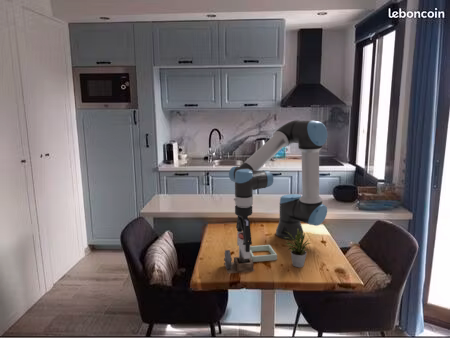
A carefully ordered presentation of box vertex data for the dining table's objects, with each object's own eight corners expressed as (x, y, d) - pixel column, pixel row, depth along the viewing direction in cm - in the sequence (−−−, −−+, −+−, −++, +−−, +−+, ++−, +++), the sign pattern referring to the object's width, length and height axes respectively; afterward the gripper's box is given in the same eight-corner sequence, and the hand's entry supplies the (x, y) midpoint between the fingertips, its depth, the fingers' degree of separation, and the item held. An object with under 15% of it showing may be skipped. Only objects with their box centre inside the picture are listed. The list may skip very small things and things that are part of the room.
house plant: (279, 256, 164) (280, 224, 161) (308, 256, 164) (309, 224, 161) (283, 270, 150) (284, 236, 147) (314, 271, 150) (316, 236, 147)
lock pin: (247, 263, 154) (247, 232, 151) (249, 268, 149) (249, 236, 146) (237, 264, 153) (237, 232, 150) (239, 269, 149) (239, 236, 146)
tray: (269, 252, 169) (269, 244, 168) (276, 262, 158) (277, 254, 157) (247, 254, 167) (247, 246, 166) (252, 264, 156) (252, 256, 155)
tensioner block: (249, 263, 157) (249, 244, 155) (254, 274, 147) (255, 253, 145) (222, 266, 155) (222, 246, 153) (226, 276, 145) (226, 256, 143)
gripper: (230, 198, 157) (230, 240, 161) (241, 215, 133) (241, 264, 137) (245, 197, 158) (245, 239, 162) (259, 213, 134) (259, 263, 138)
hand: (243, 251), depth 150 cm, fingers open, 13 cm apart
